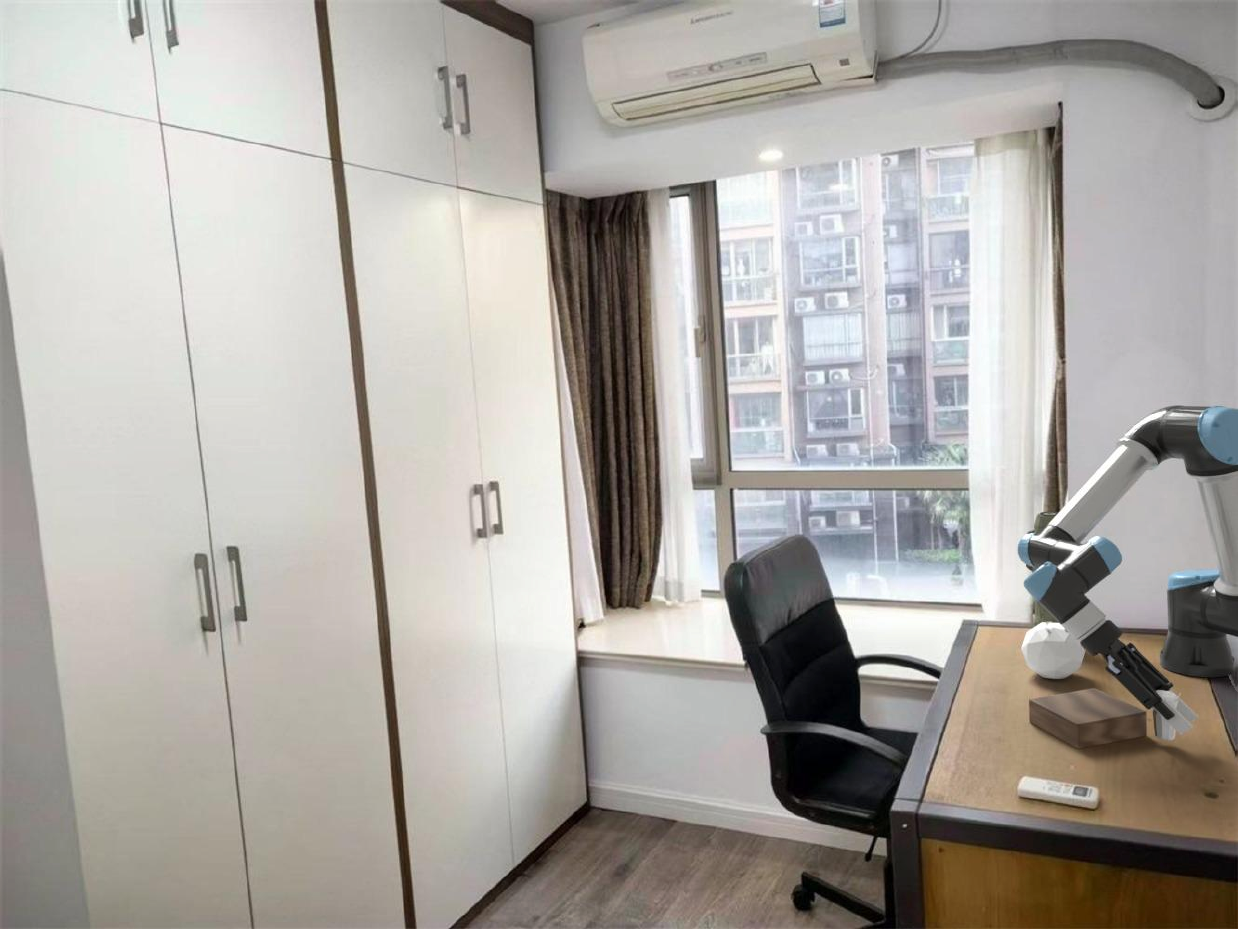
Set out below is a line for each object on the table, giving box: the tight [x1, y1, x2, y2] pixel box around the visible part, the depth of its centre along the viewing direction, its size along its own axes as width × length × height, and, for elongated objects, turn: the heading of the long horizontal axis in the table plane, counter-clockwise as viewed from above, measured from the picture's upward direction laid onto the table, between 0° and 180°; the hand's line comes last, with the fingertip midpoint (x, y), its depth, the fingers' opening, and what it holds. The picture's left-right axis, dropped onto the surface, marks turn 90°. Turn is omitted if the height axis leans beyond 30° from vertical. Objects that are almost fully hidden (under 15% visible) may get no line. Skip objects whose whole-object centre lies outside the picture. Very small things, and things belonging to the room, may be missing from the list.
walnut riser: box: [1028, 687, 1148, 750], centre depth 182 cm, size 16×14×5 cm
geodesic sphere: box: [1020, 622, 1086, 680], centre depth 211 cm, size 14×14×14 cm
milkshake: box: [1151, 690, 1182, 741], centre depth 172 cm, size 5×5×10 cm
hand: (1189, 725), depth 170 cm, fingers closed on milkshake, 5 cm apart
